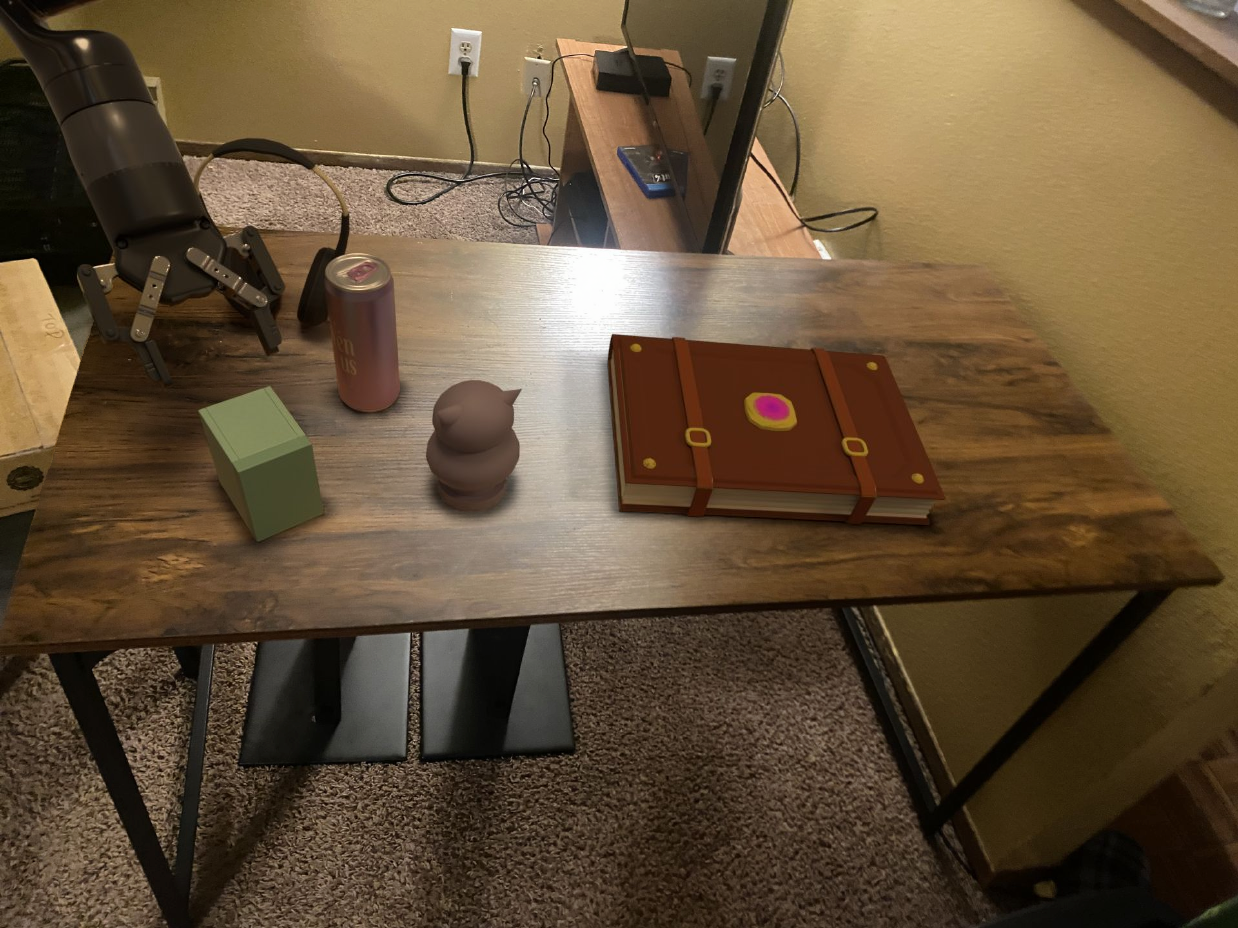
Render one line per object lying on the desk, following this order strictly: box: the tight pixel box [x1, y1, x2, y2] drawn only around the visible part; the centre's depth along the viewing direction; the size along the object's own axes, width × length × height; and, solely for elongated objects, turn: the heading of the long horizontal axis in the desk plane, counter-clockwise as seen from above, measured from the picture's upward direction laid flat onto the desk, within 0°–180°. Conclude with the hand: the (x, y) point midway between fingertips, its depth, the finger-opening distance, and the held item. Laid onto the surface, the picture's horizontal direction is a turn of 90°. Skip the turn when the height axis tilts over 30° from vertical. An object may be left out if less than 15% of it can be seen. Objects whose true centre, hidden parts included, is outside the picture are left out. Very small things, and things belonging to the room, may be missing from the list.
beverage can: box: [324, 252, 401, 413], centre depth 79 cm, size 6×6×15 cm
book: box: [607, 333, 947, 526], centre depth 87 cm, size 23×32×5 cm
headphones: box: [192, 137, 351, 328], centre depth 84 cm, size 9×15×20 cm, turn 90°
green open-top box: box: [198, 385, 325, 543], centre depth 71 cm, size 8×6×9 cm
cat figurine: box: [425, 379, 523, 513], centre depth 74 cm, size 8×8×12 cm
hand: (222, 369), depth 69 cm, fingers open, 8 cm apart
